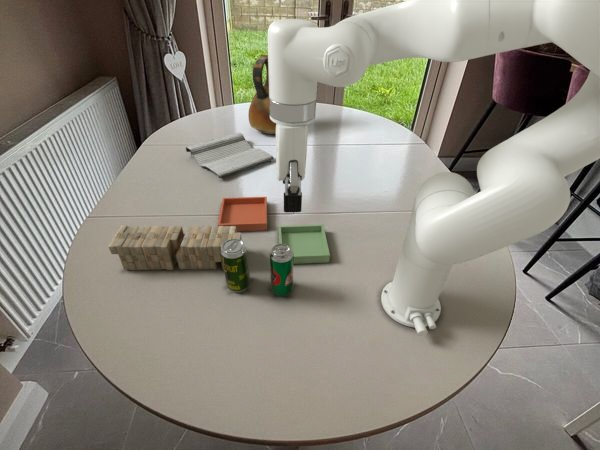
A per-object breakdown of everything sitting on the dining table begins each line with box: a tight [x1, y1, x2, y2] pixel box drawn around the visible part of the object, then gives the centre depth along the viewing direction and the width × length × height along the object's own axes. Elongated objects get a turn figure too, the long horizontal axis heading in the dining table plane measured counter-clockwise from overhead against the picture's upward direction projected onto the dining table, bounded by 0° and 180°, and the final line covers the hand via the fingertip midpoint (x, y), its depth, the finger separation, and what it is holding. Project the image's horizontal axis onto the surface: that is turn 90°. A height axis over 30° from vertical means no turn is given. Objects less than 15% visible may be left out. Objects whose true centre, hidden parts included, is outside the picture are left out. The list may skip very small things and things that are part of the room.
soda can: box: [268, 243, 294, 297], centre depth 72 cm, size 5×5×12 cm
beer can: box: [221, 239, 251, 293], centre depth 73 cm, size 5×5×12 cm
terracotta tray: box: [217, 196, 268, 232], centre depth 96 cm, size 13×13×2 cm
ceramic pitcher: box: [248, 54, 276, 135], centre depth 138 cm, size 20×20×30 cm
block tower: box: [107, 224, 242, 271], centre depth 81 cm, size 8×8×29 cm
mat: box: [185, 132, 275, 179], centre depth 123 cm, size 23×24×5 cm
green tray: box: [278, 224, 331, 265], centre depth 87 cm, size 12×12×2 cm
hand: (291, 196), depth 65 cm, fingers open, 9 cm apart
